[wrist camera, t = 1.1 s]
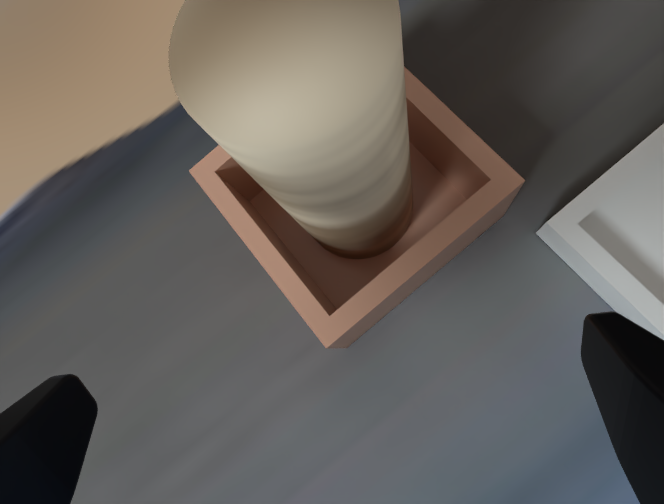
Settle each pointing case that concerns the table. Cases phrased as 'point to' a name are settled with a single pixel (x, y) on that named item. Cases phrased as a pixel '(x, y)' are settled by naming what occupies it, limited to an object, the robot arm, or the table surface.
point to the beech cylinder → (306, 108)
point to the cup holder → (400, 260)
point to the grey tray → (620, 235)
